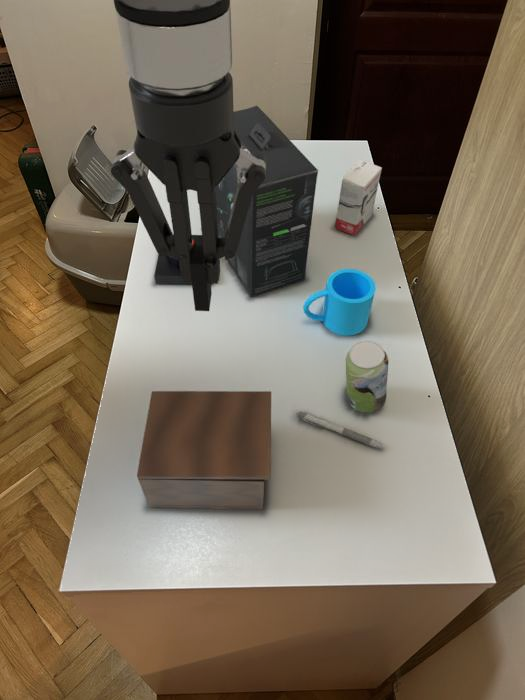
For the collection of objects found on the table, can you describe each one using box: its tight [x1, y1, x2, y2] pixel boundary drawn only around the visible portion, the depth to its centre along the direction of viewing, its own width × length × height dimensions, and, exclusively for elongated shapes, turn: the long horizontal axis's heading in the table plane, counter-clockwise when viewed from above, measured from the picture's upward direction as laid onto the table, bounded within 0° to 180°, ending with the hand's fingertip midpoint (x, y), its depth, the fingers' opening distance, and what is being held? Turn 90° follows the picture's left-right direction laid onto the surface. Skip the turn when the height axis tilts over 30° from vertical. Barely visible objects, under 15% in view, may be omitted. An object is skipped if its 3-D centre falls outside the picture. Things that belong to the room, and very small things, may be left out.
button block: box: [153, 234, 203, 286], centre depth 102 cm, size 10×12×4 cm
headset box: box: [216, 105, 319, 298], centre depth 95 cm, size 22×12×26 cm, turn 26°
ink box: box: [334, 159, 383, 236], centre depth 108 cm, size 9×5×12 cm, turn 147°
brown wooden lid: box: [136, 390, 272, 481], centre depth 69 cm, size 16×13×1 cm
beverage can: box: [345, 340, 389, 413], centre depth 79 cm, size 6×7×12 cm
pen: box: [295, 410, 385, 449], centre depth 80 cm, size 1×14×1 cm, turn 65°
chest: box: [137, 478, 265, 511], centre depth 73 cm, size 16×13×9 cm
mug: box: [302, 268, 377, 337], centre depth 91 cm, size 12×8×8 cm
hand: (203, 301), depth 56 cm, fingers closed
